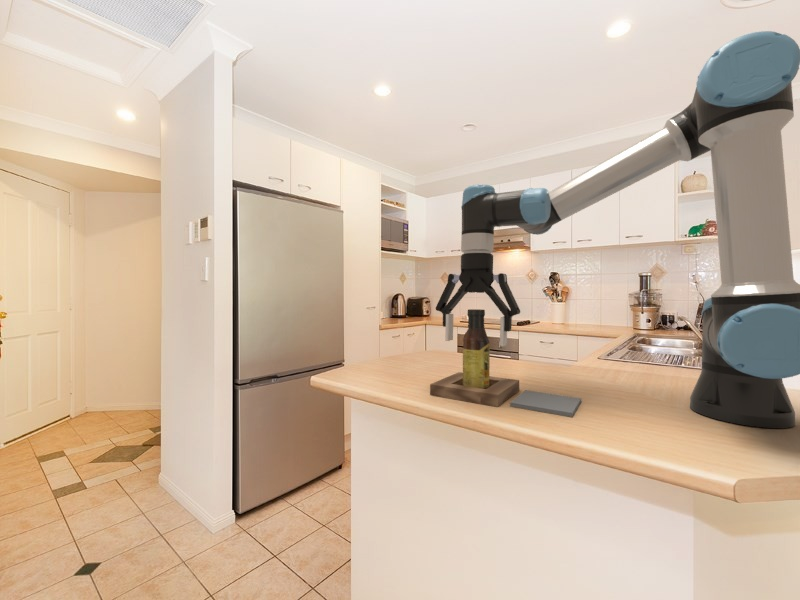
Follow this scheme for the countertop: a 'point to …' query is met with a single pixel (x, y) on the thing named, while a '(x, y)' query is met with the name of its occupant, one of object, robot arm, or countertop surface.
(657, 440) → the countertop surface
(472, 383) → the sauce bottle
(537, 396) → the mat
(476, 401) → the caddy
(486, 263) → the robot arm
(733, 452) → the countertop surface
